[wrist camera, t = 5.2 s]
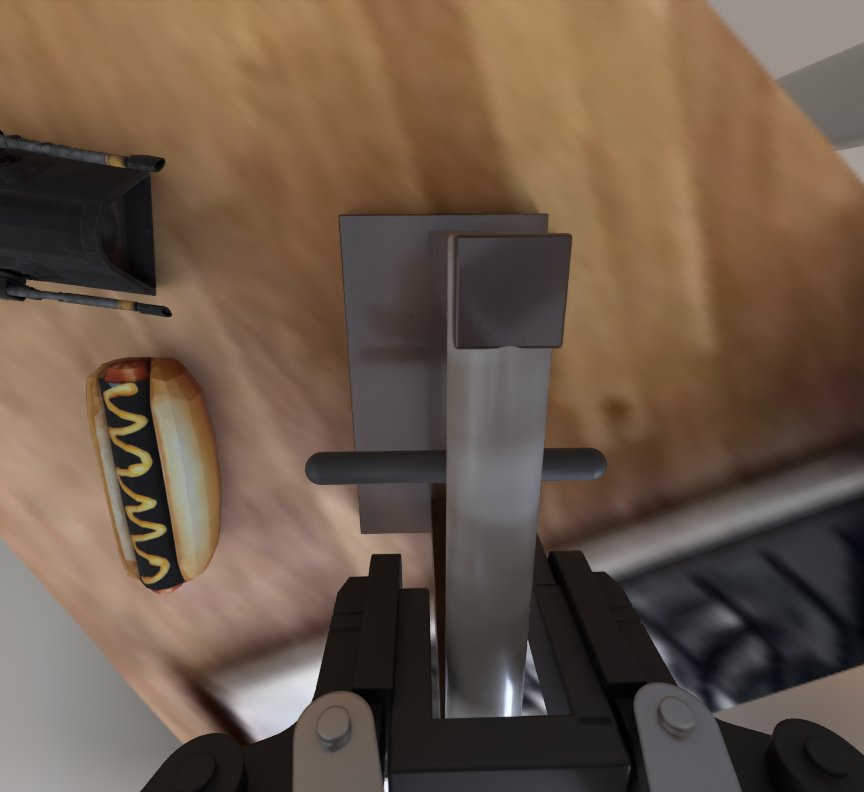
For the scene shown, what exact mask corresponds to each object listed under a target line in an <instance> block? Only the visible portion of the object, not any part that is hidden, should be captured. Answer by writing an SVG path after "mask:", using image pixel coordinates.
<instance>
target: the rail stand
mask: <svg viewBox="0 0 864 792" xmlns="http://www.w3.org/2000/svg"><path fill="white" fill-rule="evenodd" d="M339 228H340V243H341V257H342V271H343V286H344V300H345V314H346V329H347V343H348V357H349V372H350V386H351V400H352V415H353V429H354V443H355V452H358V451H418V450H447V470H446V483H396V484H357V486H358V501H359V515H360V529H361V534H383V533H429V532H431V538H432V563H433V587H434V612H435V636H436V661H437V685H438V710H439V719H440V718H474V717H508V716H521V710H522V699H523V687H524V675H525V663H526V652H527V640H528V628H529V616H530V605H531V593H532V581H533V570H534V558H535V546H536V534H537V523H538V511H539V499H540V487H541V476H542V464H543V452H544V441H545V429H546V417H547V405H548V394H549V382H550V370H551V358H552V348H560V347H562V344H563V334H564V323H565V312H566V301H567V290H568V280H569V269H570V258H571V247H572V235H571V234H569V233H547V228H548V214H383V215H339Z"/></svg>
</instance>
